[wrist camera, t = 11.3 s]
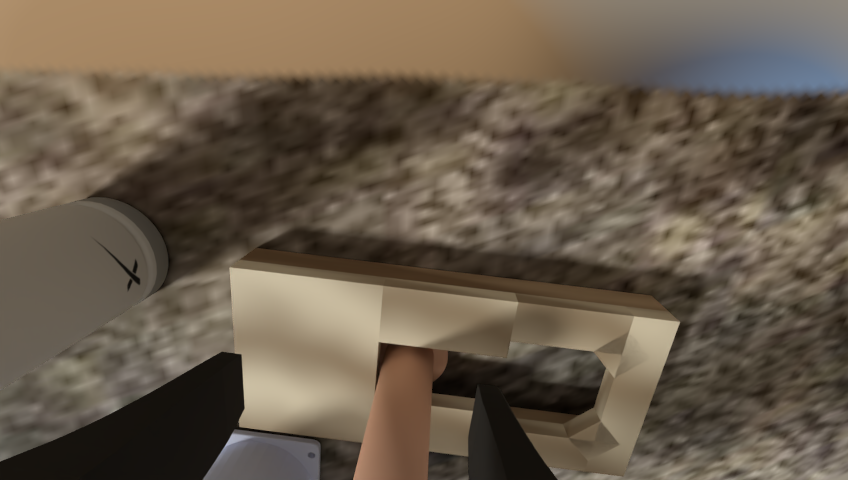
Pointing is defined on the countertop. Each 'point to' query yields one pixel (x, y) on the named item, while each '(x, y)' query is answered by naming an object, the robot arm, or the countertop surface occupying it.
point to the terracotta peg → (400, 414)
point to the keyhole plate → (437, 329)
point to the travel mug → (71, 276)
